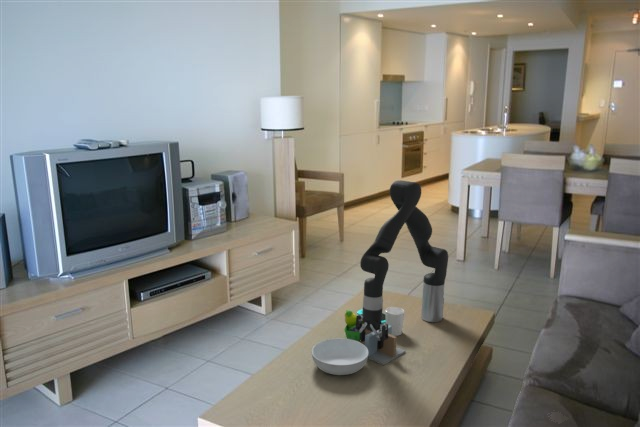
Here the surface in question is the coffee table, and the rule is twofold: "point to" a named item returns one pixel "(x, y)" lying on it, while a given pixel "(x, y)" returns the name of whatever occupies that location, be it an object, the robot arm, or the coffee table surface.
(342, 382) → the coffee table surface
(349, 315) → the fruit basket
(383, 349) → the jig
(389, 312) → the white cup
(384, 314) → the handheld game console
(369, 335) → the slotted plate
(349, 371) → the serving bowl
